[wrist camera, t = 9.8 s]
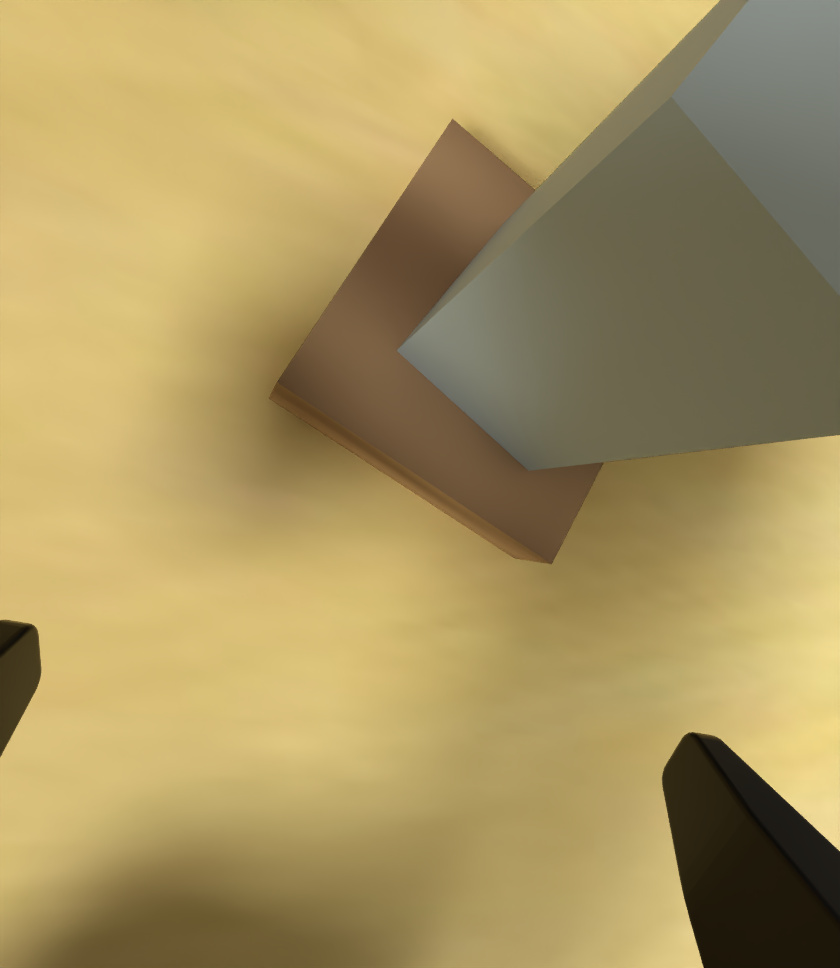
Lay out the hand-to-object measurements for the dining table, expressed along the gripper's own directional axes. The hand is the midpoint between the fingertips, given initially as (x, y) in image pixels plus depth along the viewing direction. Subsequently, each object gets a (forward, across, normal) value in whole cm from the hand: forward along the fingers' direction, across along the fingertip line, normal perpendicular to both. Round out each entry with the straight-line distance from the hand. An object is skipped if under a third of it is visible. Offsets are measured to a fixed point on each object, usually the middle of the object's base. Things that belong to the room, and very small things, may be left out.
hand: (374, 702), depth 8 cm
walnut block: (+15, -2, -1) cm, 15 cm away
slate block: (+13, -3, -2) cm, 13 cm away
